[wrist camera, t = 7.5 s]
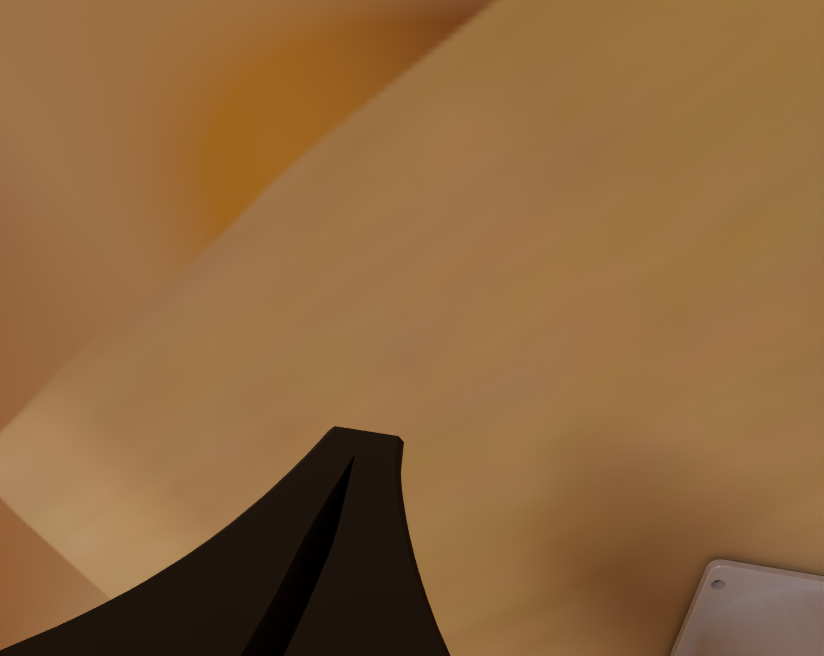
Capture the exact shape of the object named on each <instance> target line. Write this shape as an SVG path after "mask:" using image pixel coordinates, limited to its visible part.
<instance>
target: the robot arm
mask: <svg viewBox="0 0 824 656" xmlns="http://www.w3.org/2000/svg"><path fill="white" fill-rule="evenodd" d="M403 446H404V442H403V441H402V440H401V438H400V437H399V436H394V435H388V434H381V433H375V432H368V431H362V430H356V429H349V428H343V427H337V426H335V427H333V428H332V429H330V430H329V431H328V432H327V433H326V434H325V435H324V437H323V438H322V439H321V440H320V441H319V442H318V443H317V444H316V445H315V446H314V447H313V449H312V450H311V451H310V452H309V453H308V454H307V455H306V456H305V457H304V458H303V459H302V460H301V461H300V462H299V463H298V464H297V465H296V466H295V467H294V468H293V469H292V470H291V471H290V472H289V473H288V474H287V475H285V476H284V477H283V478H282V479H281V480H280V481H279V482H278V483H277V484H276V485H275V486H274V487H273V488H272V489H271V490H270V491H268V492H267V493H266V494H265V495H264V496H263V497H262V498H260V499H259V500H258V501H257V502H256V503H254V504H253V505H252V506H251V507H250V508H248V509H247V510H246V511H245V512H244V513H243V514H241V515H240V516H239V517H238V518H237V519H235V520H234V521H233V522H232V523H230V524H229V525H228V526H226V527H225V528H224V529H223V530H221V531H220V532H219V533H217V534H216V535H215V536H213V537H212V538H210V539H209V540H208V541H206V542H205V543H203V544H202V545H201V546H199V547H198V548H196V549H195V550H193V551H192V552H191V553H189V554H188V555H186V556H185V557H183V558H181V559H180V560H178V561H177V562H175V563H174V564H172V565H170V566H169V567H167V568H166V569H164V570H162V571H161V572H159V573H158V574H156V575H155V576H153V577H151V578H150V579H148V580H146V581H145V582H143V583H141V584H139V585H138V586H136V587H134V588H132V589H131V590H129V591H127V592H125V593H123V594H121V595H119V596H117V597H115V598H114V599H112V600H110V601H108V602H106V603H104V604H102V605H100V606H98V607H96V608H94V609H92V610H90V611H88V612H86V613H84V614H82V615H80V616H78V617H76V618H74V619H72V620H70V621H67V622H65V623H63V624H61V625H59V626H57V627H54V628H52V629H50V630H47V631H45V632H43V633H40V634H38V635H36V636H33V637H31V638H28V639H26V640H24V641H21V642H19V643H16V644H14V645H12V646H9V647H7V648H5V649H3V650H0V656H450V654H449V651H448V649H447V647H446V645H445V642H444V640H443V638H442V635H441V633H440V631H439V629H438V626H437V624H436V621H435V618H434V615H433V613H432V610H431V607H430V604H429V602H428V599H427V596H426V593H425V590H424V587H423V584H422V581H421V577H420V574H419V571H418V567H417V563H416V560H415V556H414V552H413V548H412V544H411V539H410V535H409V530H408V525H407V520H406V514H405V508H404V501H403V495H402V485H401V466H402V456H403ZM716 580H720V581H718V582H713V581H716ZM670 656H824V576H819V575H813V574H807V573H801V572H795V571H789V570H783V569H777V568H771V567H765V566H759V565H753V564H747V563H741V562H735V561H729V560H721V559H718V560H714V561H712V562H710V563H709V564H708V565H707V566H706V569H705V571H704V574H703V576H702V578H701V581H700V583H699V586H698V588H697V591H696V593H695V595H694V598H693V600H692V603H691V605H690V608H689V610H688V612H687V615H686V617H685V620H684V622H683V625H682V627H681V629H680V632H679V634H678V637H677V639H676V642H675V644H674V646H673V649H672V651H671V654H670Z"/></svg>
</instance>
